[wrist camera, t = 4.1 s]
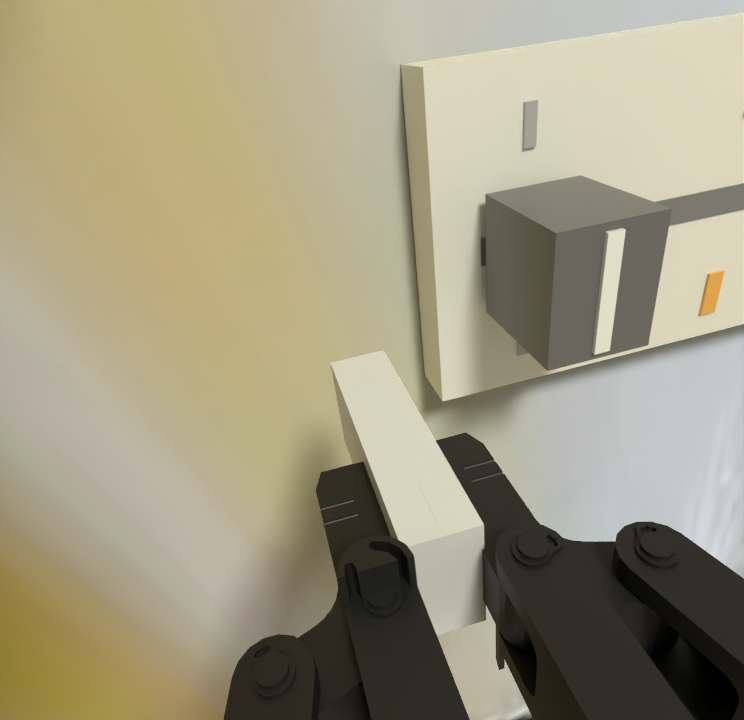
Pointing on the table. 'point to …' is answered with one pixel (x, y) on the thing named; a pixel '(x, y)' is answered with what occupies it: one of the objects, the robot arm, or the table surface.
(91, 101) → the table surface
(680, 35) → the console
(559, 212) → the fader tab
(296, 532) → the table surface
